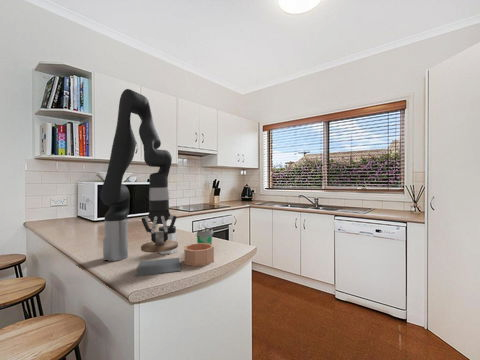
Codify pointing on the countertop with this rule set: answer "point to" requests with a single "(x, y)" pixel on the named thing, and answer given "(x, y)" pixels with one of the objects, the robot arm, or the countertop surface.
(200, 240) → the food container
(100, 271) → the countertop surface
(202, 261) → the bowl
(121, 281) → the countertop surface
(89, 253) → the countertop surface
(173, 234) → the jar
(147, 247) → the lid
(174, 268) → the mat
